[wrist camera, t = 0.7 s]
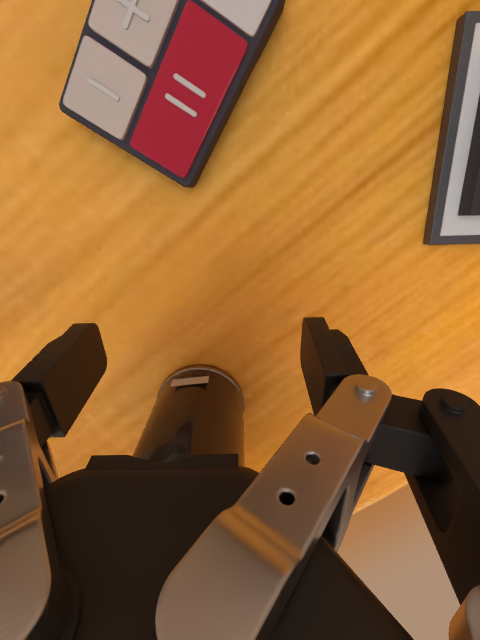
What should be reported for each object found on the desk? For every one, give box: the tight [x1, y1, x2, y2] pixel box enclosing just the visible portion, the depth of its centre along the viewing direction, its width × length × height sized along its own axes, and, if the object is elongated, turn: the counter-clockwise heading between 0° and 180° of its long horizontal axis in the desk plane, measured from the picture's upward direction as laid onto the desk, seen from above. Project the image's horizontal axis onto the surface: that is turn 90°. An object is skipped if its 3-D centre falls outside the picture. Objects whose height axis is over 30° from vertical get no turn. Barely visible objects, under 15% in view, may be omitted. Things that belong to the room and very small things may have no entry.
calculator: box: [59, 0, 285, 188], centre depth 24 cm, size 11×4×15 cm
